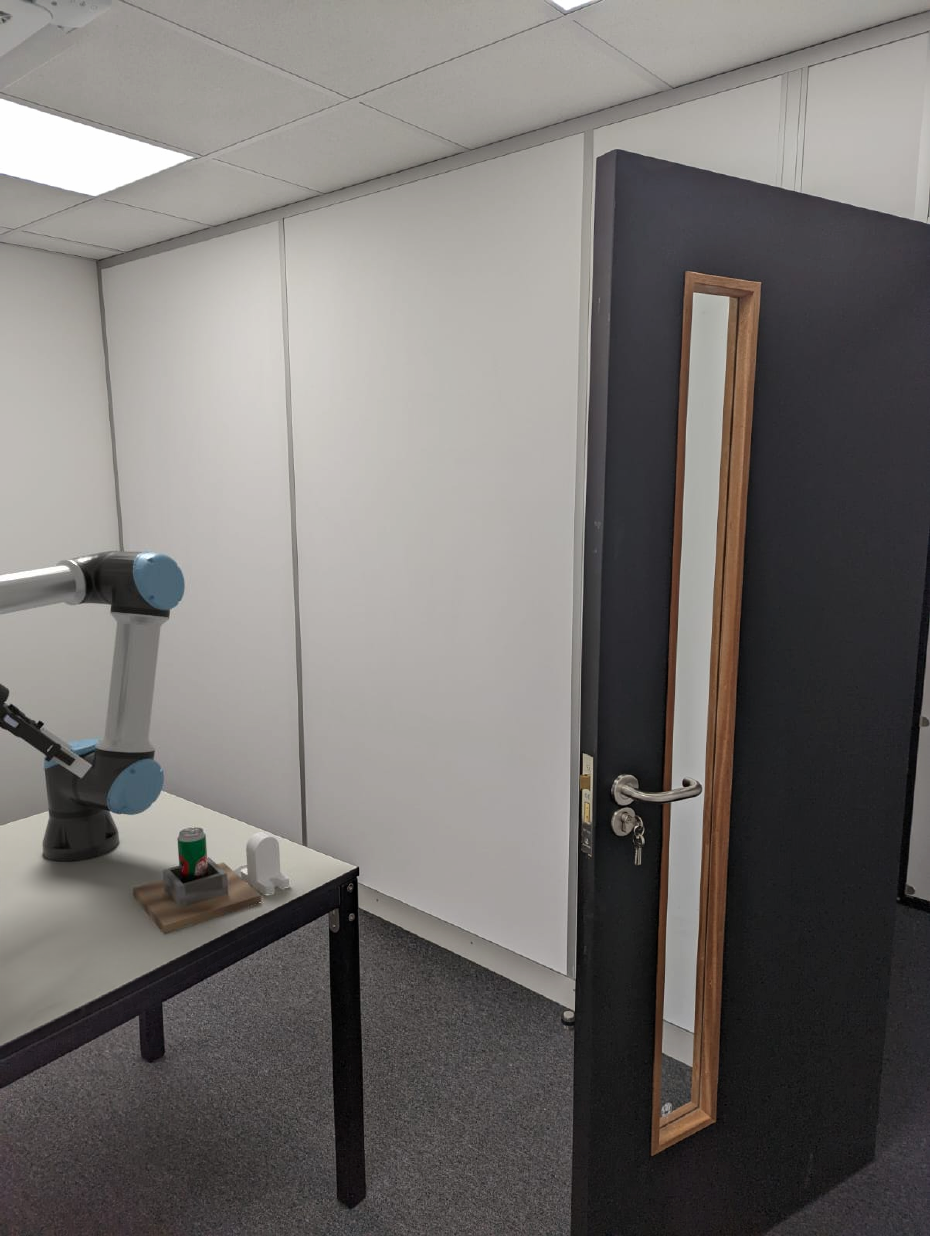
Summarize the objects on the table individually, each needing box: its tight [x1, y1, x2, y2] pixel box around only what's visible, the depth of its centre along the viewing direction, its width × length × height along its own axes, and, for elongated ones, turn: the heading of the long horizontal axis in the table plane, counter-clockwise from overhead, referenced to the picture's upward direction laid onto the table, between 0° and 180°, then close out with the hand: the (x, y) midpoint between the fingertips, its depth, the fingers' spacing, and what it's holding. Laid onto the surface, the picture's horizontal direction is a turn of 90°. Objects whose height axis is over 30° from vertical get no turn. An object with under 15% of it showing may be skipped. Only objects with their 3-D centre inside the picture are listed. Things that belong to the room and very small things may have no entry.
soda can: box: [177, 826, 208, 884], centre depth 162 cm, size 5×5×12 cm
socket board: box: [132, 856, 262, 934], centre depth 163 cm, size 18×18×6 cm
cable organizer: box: [240, 831, 290, 895], centre depth 169 cm, size 5×10×10 cm, turn 44°
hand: (76, 761), depth 158 cm, fingers open, 13 cm apart
